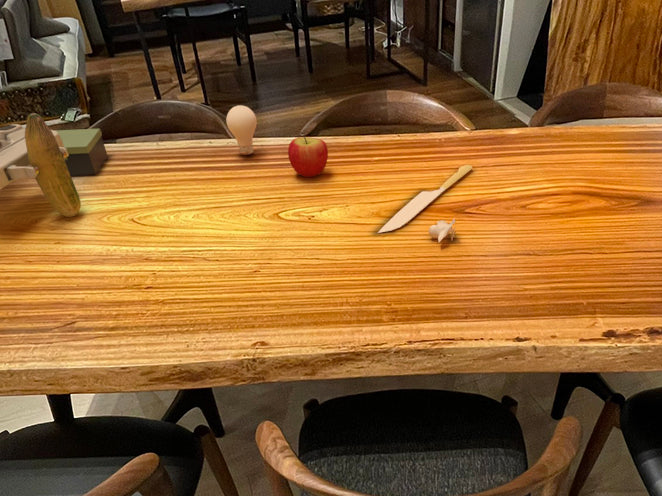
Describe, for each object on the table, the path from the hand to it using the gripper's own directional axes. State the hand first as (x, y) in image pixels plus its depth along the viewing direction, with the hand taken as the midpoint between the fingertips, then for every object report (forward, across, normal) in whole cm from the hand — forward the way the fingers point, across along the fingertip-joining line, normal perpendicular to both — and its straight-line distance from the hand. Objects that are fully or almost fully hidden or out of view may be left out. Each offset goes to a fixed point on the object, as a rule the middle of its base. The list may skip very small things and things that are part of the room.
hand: (51, 162), depth 117 cm
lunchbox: (-14, +21, +11) cm, 27 cm away
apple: (+40, +29, +11) cm, 51 cm away
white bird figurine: (+73, +9, +11) cm, 75 cm away
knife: (+67, +23, +11) cm, 72 cm away
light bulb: (+22, +35, +11) cm, 43 cm away
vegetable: (-1, 0, +11) cm, 11 cm away
